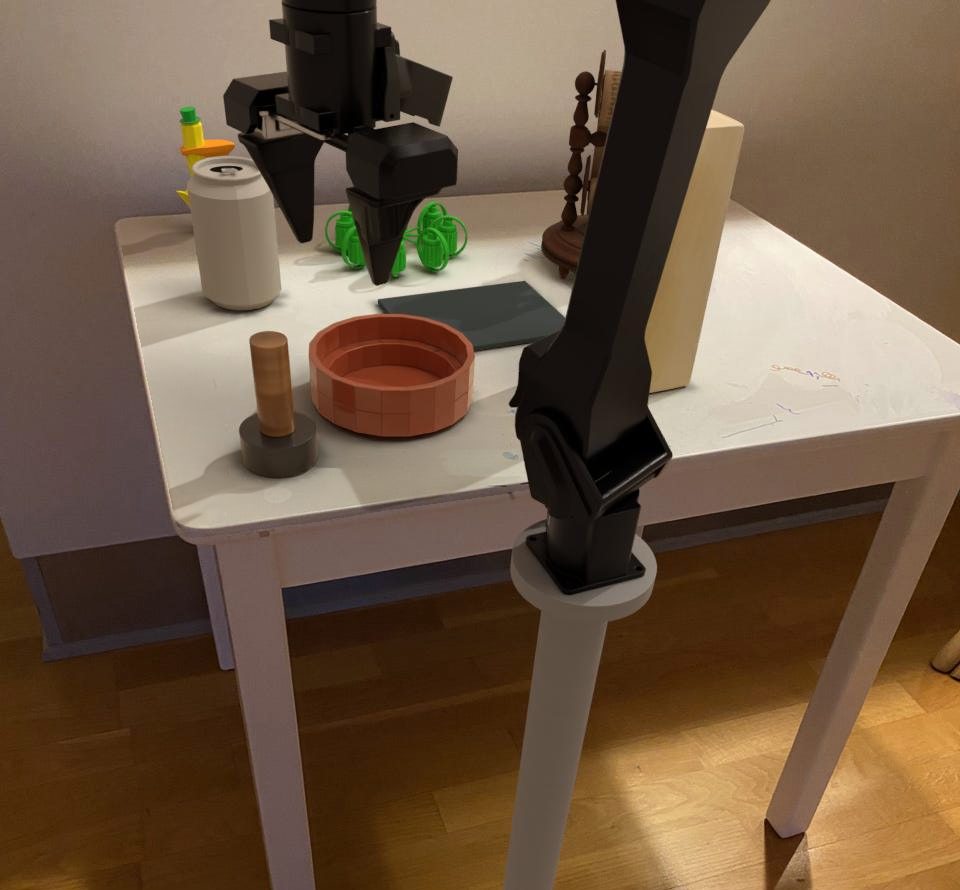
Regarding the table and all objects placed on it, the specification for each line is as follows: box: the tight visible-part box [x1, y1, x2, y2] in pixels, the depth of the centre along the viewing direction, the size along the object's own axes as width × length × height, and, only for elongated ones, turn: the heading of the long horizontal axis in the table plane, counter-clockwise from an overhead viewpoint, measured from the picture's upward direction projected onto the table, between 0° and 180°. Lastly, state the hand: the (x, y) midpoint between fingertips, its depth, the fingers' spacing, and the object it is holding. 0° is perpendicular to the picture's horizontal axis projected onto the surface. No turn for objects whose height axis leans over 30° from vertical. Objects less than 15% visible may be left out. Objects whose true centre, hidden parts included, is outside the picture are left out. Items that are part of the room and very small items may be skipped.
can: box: [186, 155, 283, 311], centre depth 87 cm, size 8×8×12 cm
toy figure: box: [175, 106, 236, 209], centre depth 99 cm, size 7×4×12 cm, turn 116°
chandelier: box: [324, 201, 468, 278], centre depth 98 cm, size 15×15×7 cm
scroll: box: [540, 49, 622, 280], centre depth 95 cm, size 15×15×20 cm
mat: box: [377, 280, 566, 352], centre depth 90 cm, size 12×16×1 cm
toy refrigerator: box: [645, 109, 745, 394], centre depth 77 cm, size 8×7×21 cm
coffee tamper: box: [238, 330, 319, 479], centre depth 68 cm, size 6×6×10 cm
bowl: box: [308, 313, 476, 437], centre depth 77 cm, size 13×13×4 cm
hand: (341, 262), depth 67 cm, fingers open, 9 cm apart
